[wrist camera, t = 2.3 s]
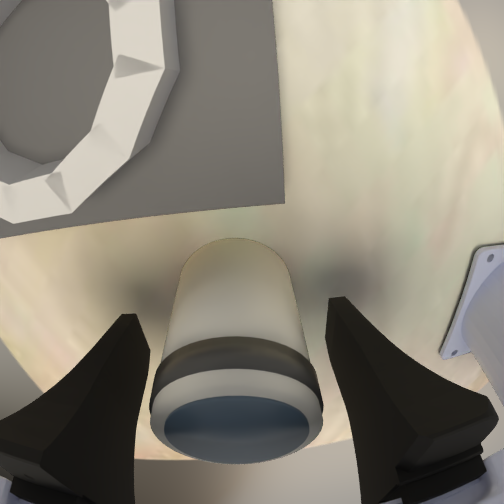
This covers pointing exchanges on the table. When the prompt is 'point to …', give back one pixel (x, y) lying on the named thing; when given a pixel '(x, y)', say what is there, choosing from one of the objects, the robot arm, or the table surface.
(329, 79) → the table surface
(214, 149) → the camera body
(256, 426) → the lens
